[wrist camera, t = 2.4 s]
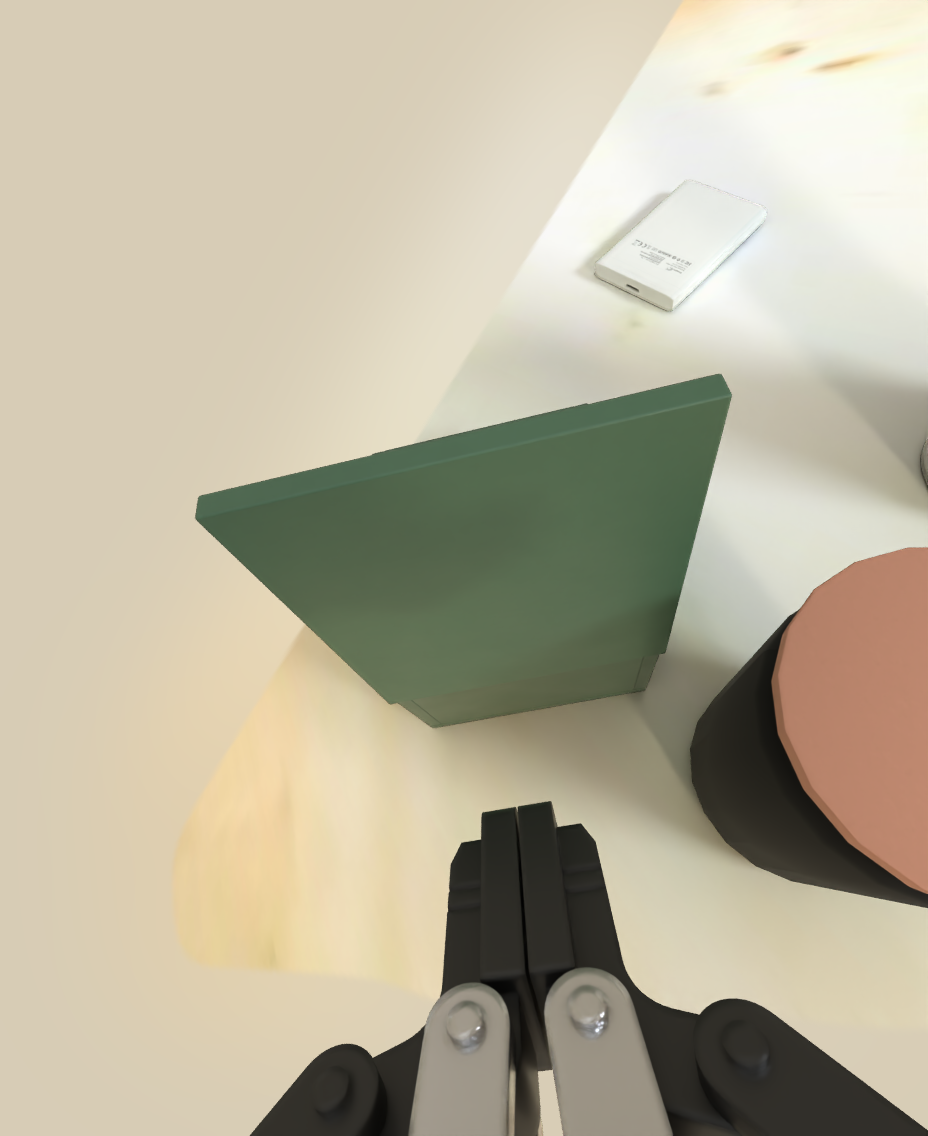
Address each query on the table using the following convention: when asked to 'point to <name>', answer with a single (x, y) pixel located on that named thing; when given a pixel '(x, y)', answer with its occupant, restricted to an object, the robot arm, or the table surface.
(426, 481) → the green lid
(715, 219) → the hard drive
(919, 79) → the table surface
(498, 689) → the green box
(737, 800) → the coffee jar
